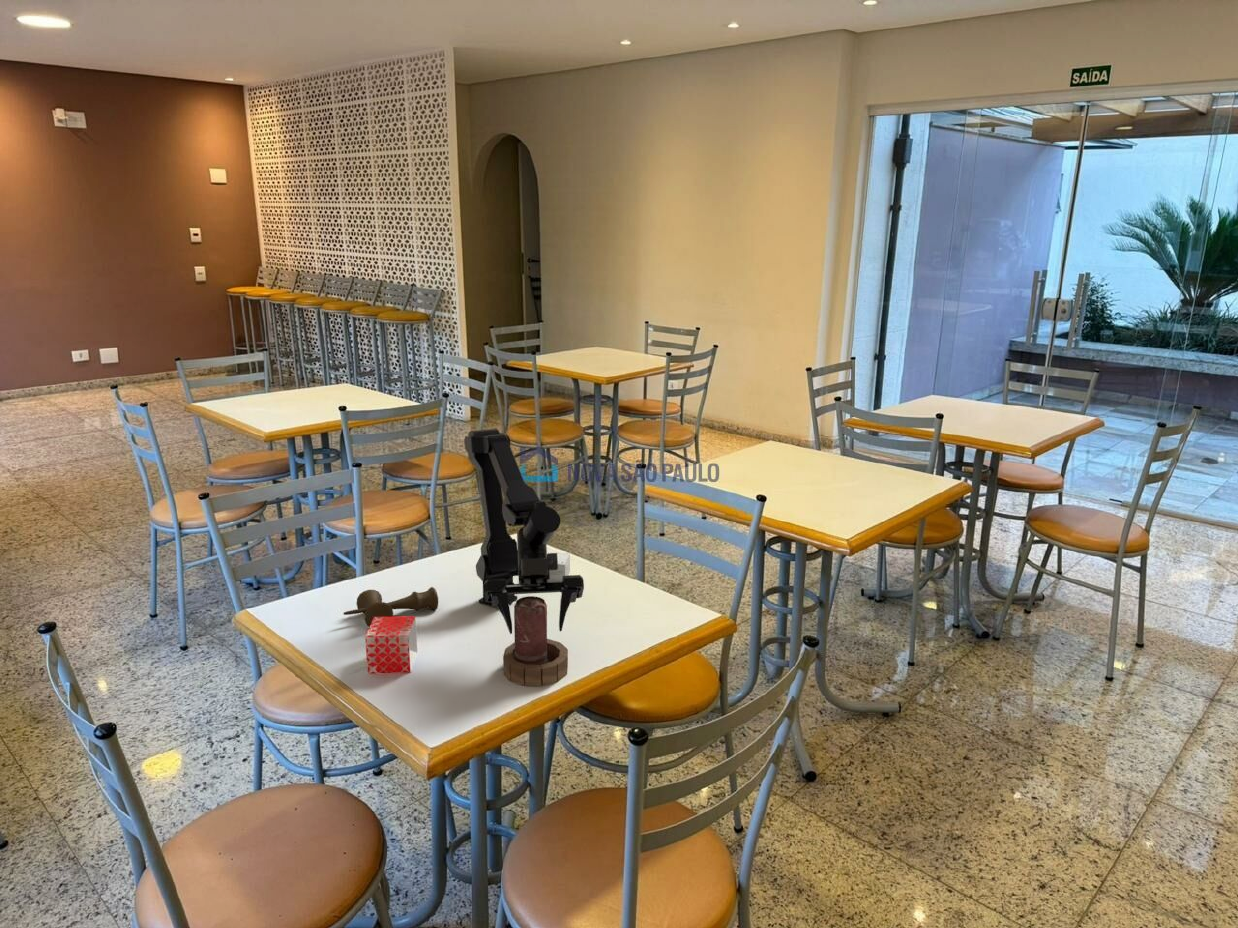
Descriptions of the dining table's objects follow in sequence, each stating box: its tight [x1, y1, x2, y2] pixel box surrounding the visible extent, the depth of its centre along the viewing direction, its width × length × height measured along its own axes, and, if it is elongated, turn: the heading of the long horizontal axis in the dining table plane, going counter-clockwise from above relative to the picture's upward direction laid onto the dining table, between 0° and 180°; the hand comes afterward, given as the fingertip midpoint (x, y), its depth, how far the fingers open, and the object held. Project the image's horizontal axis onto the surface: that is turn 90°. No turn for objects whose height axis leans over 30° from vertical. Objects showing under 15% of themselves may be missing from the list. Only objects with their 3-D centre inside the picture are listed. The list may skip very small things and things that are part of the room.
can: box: [513, 595, 548, 665], centre depth 154 cm, size 6×6×14 cm
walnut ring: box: [502, 638, 569, 687], centre depth 155 cm, size 12×12×4 cm
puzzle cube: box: [364, 615, 418, 675], centre depth 156 cm, size 8×8×8 cm
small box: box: [547, 551, 571, 582], centre depth 198 cm, size 8×8×5 cm
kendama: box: [343, 586, 439, 628], centre depth 176 cm, size 6×10×20 cm
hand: (536, 631), depth 152 cm, fingers open, 9 cm apart
